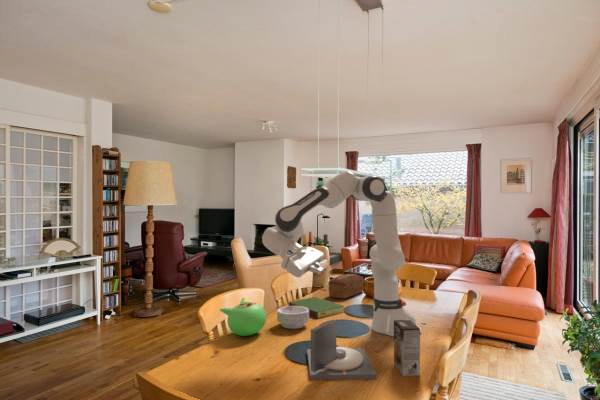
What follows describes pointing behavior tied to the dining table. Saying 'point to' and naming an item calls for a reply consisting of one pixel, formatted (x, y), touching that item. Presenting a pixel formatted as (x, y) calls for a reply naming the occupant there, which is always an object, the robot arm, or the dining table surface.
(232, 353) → the dining table surface
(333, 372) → the dial board
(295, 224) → the robot arm
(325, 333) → the dial
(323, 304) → the hardcover book
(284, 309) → the paper bowls
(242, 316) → the green teapot
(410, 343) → the coffee box
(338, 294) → the bread
